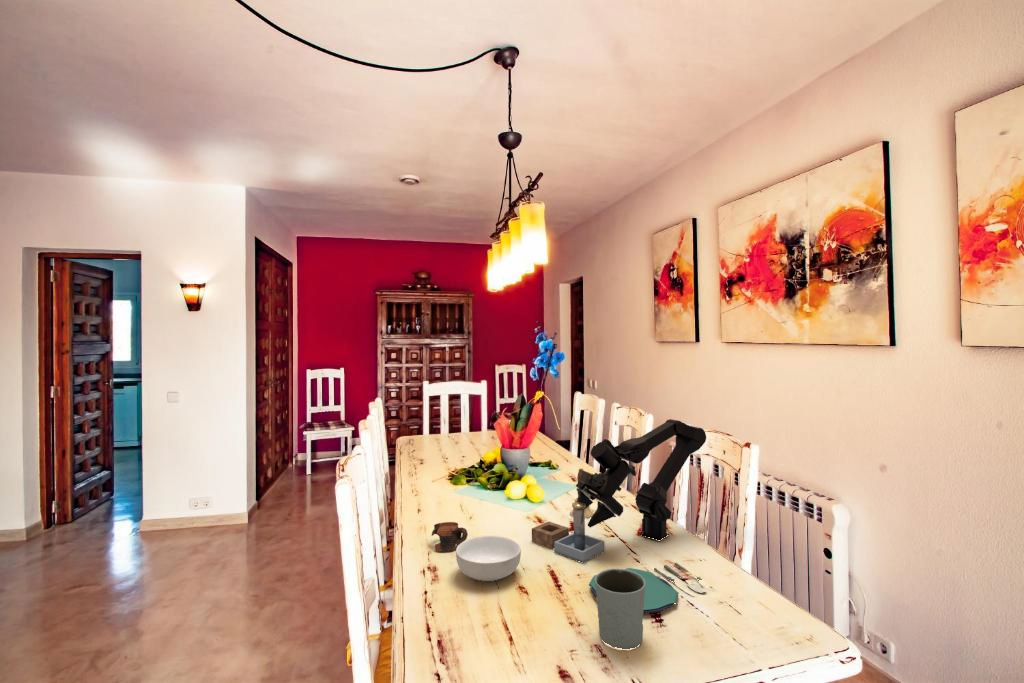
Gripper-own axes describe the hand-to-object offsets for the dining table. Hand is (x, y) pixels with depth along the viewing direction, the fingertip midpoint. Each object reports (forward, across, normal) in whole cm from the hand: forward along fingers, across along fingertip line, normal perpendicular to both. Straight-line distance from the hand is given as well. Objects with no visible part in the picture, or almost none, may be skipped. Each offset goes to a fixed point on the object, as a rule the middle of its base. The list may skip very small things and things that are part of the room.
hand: (580, 520), depth 141 cm
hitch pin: (+6, 0, +5) cm, 8 cm away
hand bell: (-4, -27, +17) cm, 32 cm away
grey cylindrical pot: (+15, +40, -2) cm, 42 cm away
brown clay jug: (+31, -18, -18) cm, 40 cm away
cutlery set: (+3, +26, +10) cm, 28 cm away
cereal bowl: (+27, +3, -14) cm, 30 cm away
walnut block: (+10, -10, +2) cm, 14 cm away
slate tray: (+7, 0, +6) cm, 9 cm away
